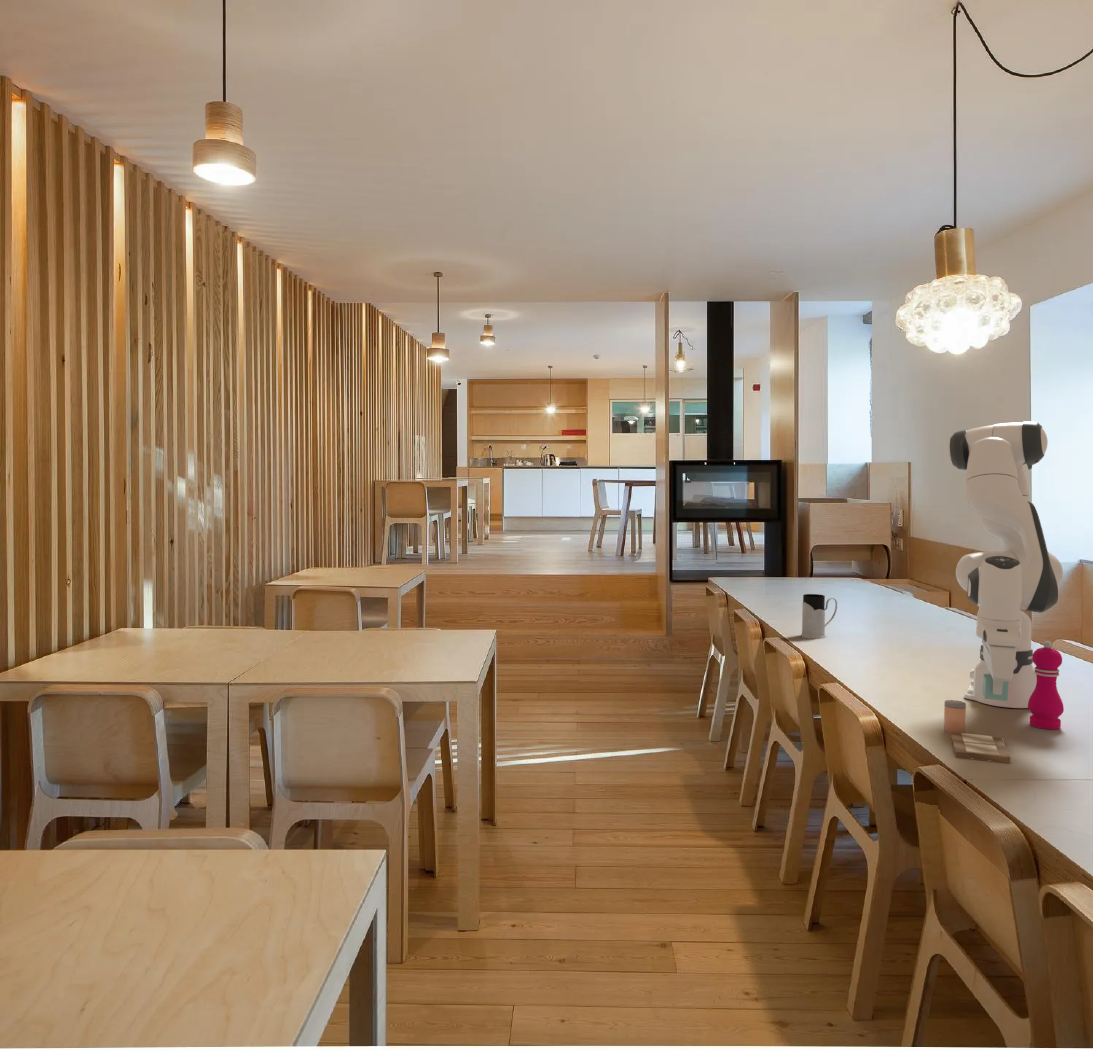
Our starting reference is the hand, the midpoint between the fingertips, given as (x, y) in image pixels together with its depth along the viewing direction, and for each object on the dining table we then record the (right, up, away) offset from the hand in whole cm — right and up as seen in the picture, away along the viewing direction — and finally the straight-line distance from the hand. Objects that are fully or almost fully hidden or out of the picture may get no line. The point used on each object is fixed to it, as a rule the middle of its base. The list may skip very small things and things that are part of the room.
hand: (995, 689), depth 189 cm
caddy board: (-9, -11, -10) cm, 17 cm away
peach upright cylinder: (-8, -10, +3) cm, 13 cm away
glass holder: (-1, -4, +117) cm, 118 cm away
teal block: (0, -2, 0) cm, 2 cm away
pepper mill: (+15, -10, +7) cm, 20 cm away
